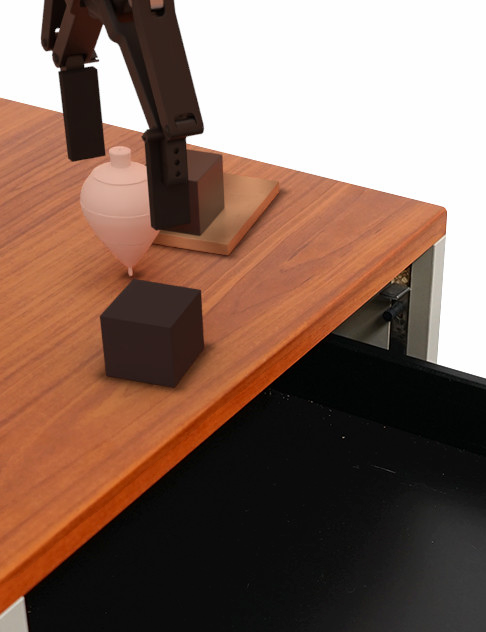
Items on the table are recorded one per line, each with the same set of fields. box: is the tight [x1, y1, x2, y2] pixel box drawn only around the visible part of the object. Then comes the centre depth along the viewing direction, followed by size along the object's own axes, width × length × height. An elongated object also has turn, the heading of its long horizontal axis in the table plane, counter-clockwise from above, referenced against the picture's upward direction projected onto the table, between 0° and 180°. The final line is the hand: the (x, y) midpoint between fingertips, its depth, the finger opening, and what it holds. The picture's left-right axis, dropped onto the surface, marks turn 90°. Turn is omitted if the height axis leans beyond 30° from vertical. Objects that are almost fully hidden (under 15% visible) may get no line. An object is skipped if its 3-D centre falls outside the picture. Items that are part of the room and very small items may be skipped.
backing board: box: [144, 148, 280, 256], centre depth 138 cm, size 12×16×7 cm
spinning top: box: [79, 145, 160, 277], centre depth 125 cm, size 8×8×12 cm
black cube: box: [99, 278, 205, 388], centre depth 115 cm, size 6×7×6 cm
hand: (127, 190), depth 101 cm, fingers open, 13 cm apart
